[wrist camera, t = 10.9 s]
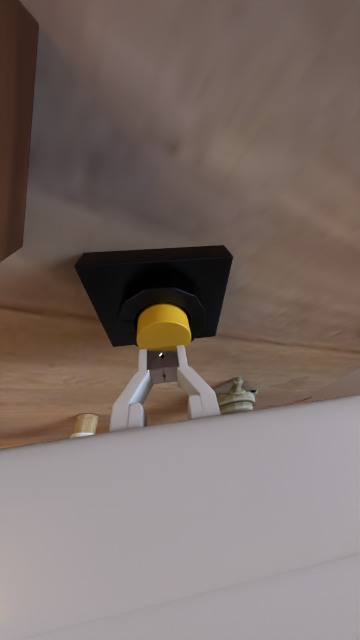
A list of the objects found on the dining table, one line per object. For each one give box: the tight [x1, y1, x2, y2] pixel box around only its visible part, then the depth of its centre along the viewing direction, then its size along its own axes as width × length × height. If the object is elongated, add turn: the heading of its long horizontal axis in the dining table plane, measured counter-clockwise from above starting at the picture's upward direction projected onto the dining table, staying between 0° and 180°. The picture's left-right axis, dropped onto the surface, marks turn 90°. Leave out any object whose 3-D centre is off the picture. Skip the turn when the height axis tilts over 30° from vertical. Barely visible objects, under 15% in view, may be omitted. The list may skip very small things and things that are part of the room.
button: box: [137, 303, 191, 349], centre depth 13 cm, size 4×4×2 cm
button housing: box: [74, 245, 233, 347], centre depth 15 cm, size 11×9×4 cm
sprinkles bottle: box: [70, 414, 99, 438], centre depth 31 cm, size 5×5×14 cm
